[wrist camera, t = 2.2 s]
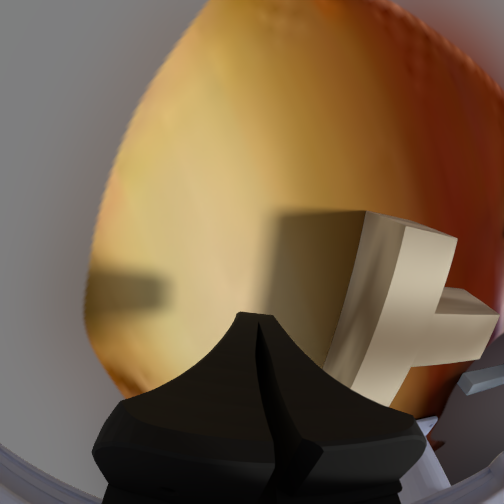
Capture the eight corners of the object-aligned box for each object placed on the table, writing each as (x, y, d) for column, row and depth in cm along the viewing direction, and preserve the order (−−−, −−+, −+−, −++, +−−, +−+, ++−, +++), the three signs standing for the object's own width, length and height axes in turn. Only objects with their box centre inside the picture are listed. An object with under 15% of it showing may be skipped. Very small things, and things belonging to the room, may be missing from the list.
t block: (429, 368, 16) (454, 401, 12) (321, 372, 16) (335, 418, 12) (477, 238, 13) (519, 256, 10) (366, 210, 13) (405, 225, 9)
